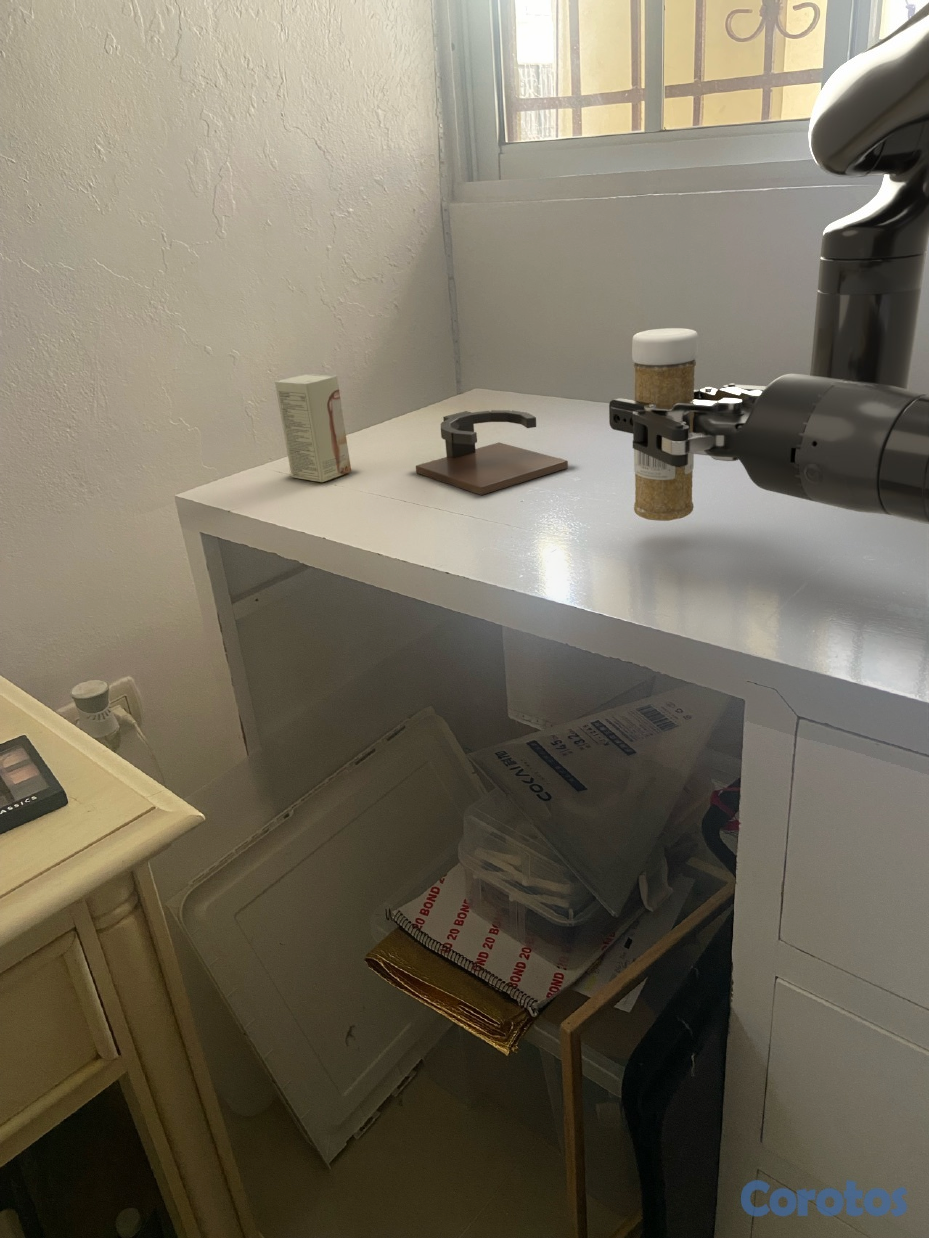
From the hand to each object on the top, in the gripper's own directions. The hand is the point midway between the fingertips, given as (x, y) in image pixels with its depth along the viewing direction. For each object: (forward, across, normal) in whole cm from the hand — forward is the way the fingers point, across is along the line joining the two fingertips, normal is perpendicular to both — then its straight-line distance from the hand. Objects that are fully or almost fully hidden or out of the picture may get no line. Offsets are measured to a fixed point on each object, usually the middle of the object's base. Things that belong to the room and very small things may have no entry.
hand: (636, 406), depth 68 cm
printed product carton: (+36, +9, +10) cm, 39 cm away
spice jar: (-3, 0, +8) cm, 8 cm away
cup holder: (+23, -3, +10) cm, 26 cm away
